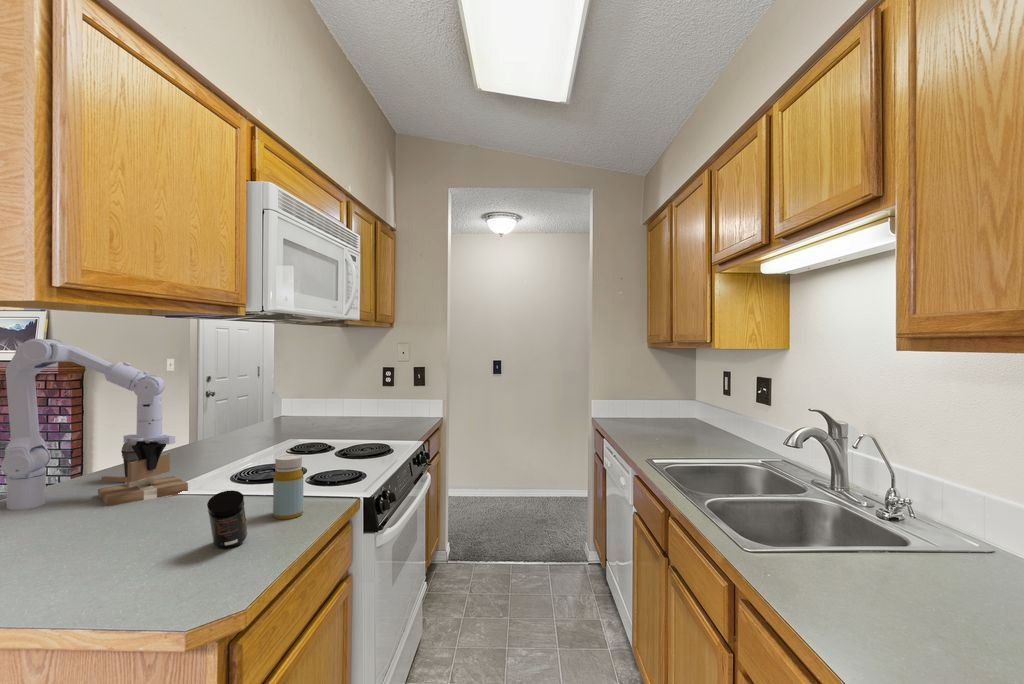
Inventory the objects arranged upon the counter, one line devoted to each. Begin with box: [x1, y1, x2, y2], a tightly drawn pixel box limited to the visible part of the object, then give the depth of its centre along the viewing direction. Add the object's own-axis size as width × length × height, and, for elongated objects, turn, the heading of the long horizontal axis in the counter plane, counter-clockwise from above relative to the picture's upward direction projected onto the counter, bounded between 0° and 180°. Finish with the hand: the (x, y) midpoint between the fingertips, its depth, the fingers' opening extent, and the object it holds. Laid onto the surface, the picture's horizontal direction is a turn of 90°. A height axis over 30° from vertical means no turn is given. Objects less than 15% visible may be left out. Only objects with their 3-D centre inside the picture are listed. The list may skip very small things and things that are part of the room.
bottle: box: [272, 454, 304, 520], centre depth 129 cm, size 7×7×15 cm
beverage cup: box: [121, 442, 139, 477], centre depth 154 cm, size 7×7×20 cm
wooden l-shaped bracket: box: [101, 453, 171, 483], centre depth 139 cm, size 9×12×5 cm
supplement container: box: [207, 490, 248, 550], centre depth 108 cm, size 7×7×10 cm
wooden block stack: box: [97, 475, 189, 507], centre depth 141 cm, size 14×18×6 cm
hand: (149, 469), depth 139 cm, fingers closed on wooden l-shaped bracket
